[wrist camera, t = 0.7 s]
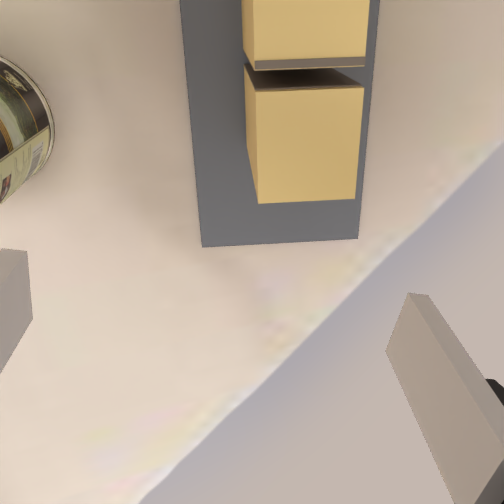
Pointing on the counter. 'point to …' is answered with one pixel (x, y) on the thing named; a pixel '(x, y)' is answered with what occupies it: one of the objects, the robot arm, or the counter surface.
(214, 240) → the mat
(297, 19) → the tall yellow box
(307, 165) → the stub
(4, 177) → the coffee can
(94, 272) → the counter surface
